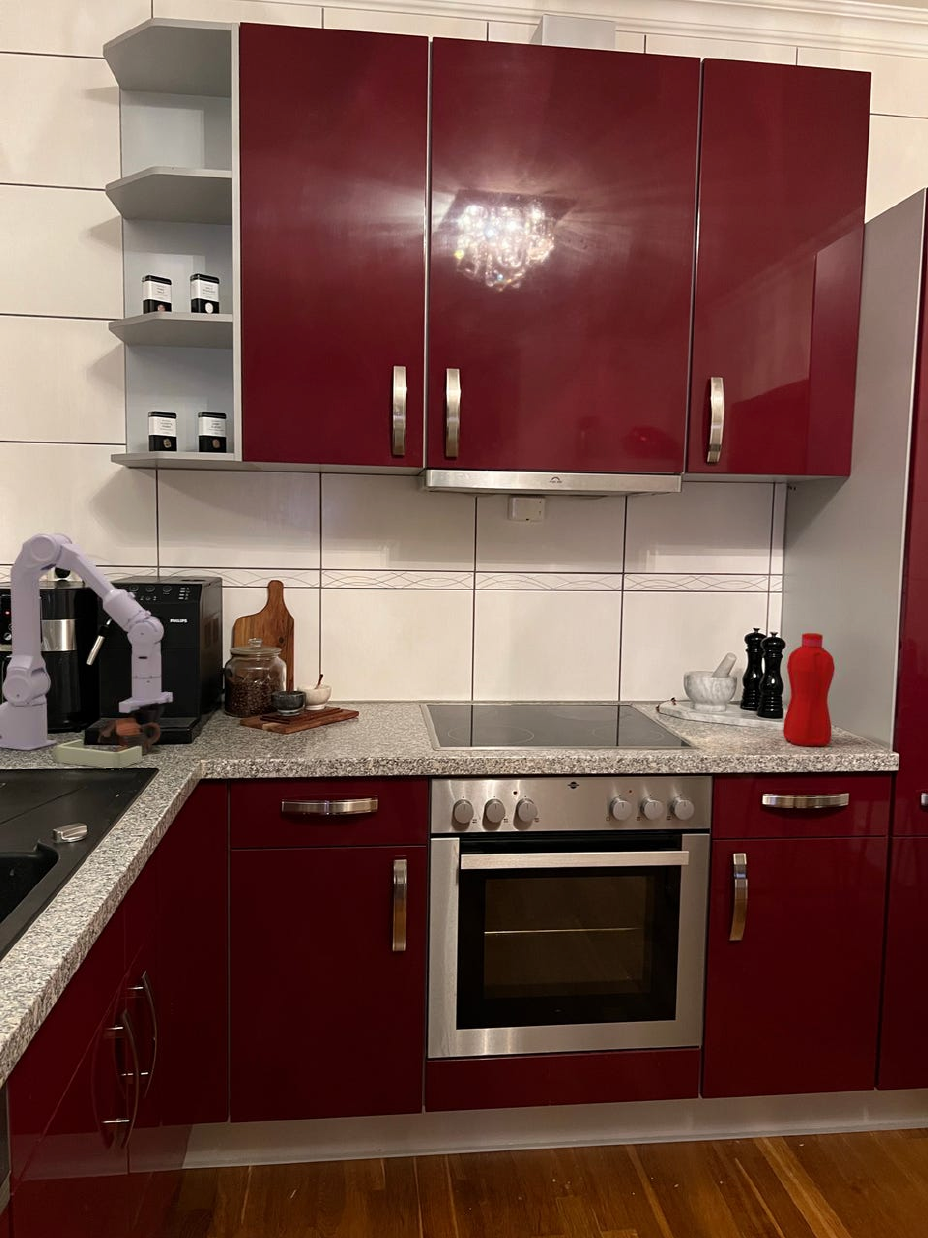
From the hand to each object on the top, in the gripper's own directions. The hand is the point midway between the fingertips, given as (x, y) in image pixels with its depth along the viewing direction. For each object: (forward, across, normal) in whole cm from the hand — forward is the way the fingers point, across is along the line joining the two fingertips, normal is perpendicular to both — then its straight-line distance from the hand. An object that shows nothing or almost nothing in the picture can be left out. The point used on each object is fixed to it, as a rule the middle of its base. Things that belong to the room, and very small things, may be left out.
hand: (147, 741), depth 194 cm
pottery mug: (+1, -6, -1) cm, 6 cm away
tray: (+1, -15, 0) cm, 15 cm away
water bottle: (+1, +65, -129) cm, 145 cm away
